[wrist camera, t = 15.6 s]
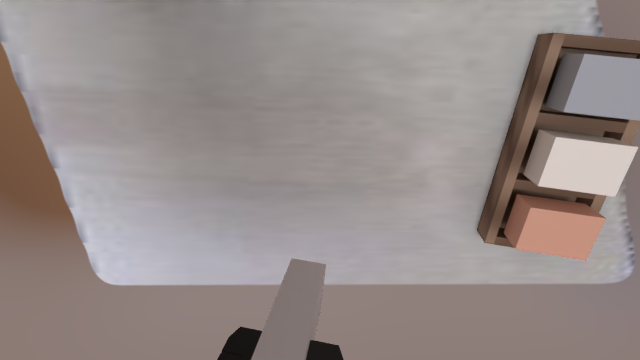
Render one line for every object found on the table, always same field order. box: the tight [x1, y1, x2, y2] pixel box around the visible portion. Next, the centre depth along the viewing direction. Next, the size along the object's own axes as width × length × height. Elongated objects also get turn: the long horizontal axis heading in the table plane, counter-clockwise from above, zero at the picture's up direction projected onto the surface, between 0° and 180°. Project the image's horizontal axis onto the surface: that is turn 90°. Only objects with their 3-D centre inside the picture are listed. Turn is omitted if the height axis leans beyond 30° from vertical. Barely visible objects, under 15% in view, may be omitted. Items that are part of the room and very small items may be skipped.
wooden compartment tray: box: [477, 33, 640, 247], centre depth 34 cm, size 22×10×3 cm, turn 174°
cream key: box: [523, 129, 638, 197], centre depth 32 cm, size 5×7×3 cm
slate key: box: [546, 54, 640, 121], centre depth 29 cm, size 5×7×3 cm
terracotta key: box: [504, 194, 606, 260], centre depth 34 cm, size 5×7×3 cm
